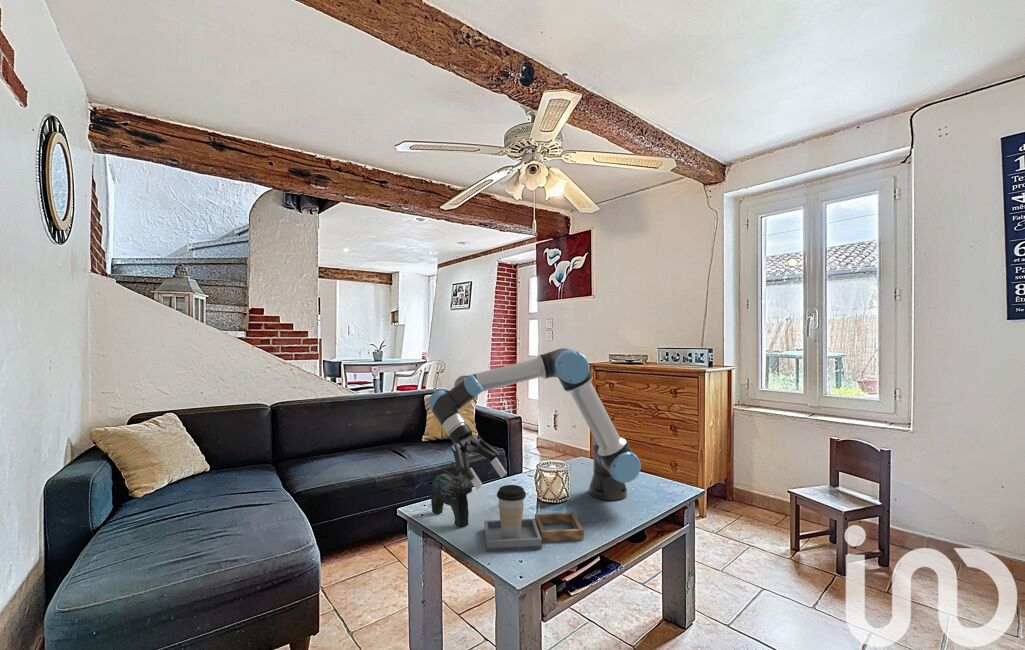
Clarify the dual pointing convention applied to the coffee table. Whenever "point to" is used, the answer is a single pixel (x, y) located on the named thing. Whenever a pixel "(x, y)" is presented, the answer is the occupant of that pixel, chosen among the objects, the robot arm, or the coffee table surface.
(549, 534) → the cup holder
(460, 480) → the dark green textured figure
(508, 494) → the coffee cup
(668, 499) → the coffee table surface
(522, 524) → the tray
